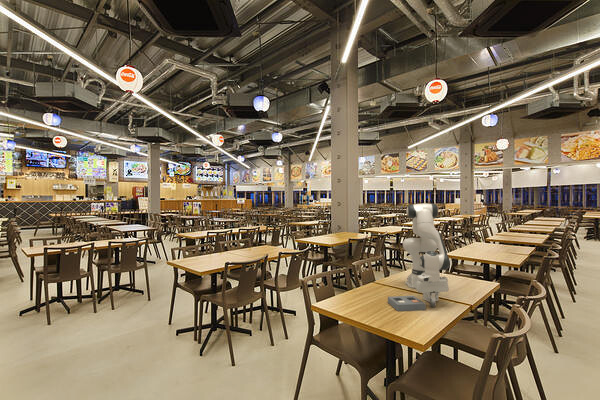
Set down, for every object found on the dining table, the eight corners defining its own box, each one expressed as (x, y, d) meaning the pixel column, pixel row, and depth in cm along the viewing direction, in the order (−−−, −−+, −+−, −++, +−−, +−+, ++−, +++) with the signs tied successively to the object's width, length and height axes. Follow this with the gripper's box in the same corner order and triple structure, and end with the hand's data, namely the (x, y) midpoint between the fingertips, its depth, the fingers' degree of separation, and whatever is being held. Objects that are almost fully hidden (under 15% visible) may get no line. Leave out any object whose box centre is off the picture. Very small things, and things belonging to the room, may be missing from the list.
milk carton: (430, 302, 194) (429, 274, 194) (422, 299, 201) (422, 271, 201) (438, 301, 196) (438, 273, 196) (431, 298, 203) (430, 271, 203)
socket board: (387, 302, 194) (387, 296, 195) (413, 301, 196) (413, 295, 196) (397, 311, 179) (397, 304, 179) (425, 310, 180) (425, 303, 180)
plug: (428, 304, 187) (428, 289, 187) (433, 304, 187) (433, 289, 187) (431, 306, 183) (431, 291, 183) (436, 306, 183) (436, 291, 184)
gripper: (444, 275, 189) (444, 296, 189) (414, 276, 187) (415, 297, 187) (450, 277, 183) (450, 299, 183) (419, 279, 181) (420, 300, 181)
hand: (432, 298), depth 185 cm, fingers closed on plug, 3 cm apart
